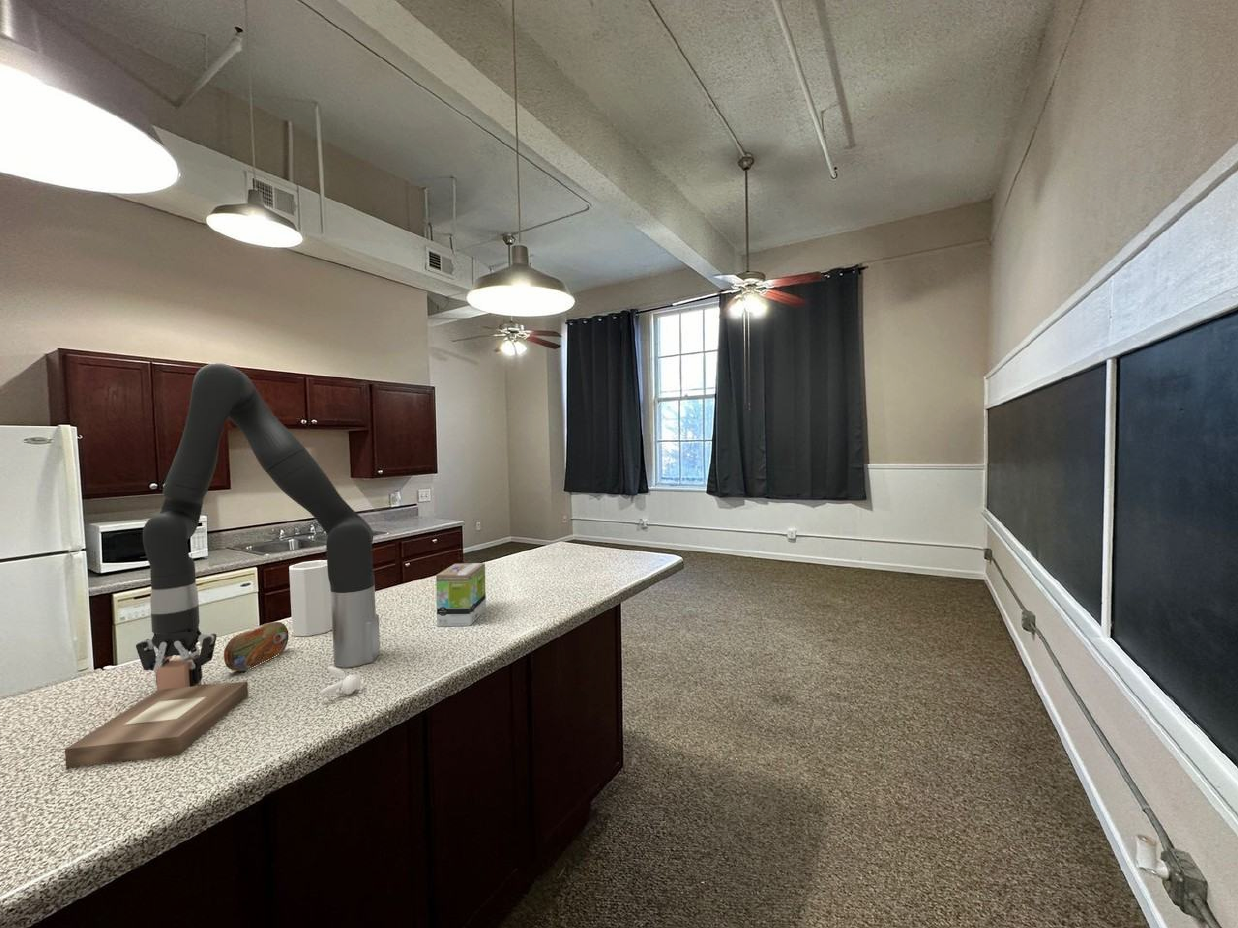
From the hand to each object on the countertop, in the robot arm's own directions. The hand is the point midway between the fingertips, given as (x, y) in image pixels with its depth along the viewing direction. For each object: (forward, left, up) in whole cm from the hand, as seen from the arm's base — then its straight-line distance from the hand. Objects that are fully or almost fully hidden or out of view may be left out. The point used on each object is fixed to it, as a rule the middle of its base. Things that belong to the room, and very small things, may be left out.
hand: (179, 686), depth 105 cm
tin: (-9, -12, -1) cm, 15 cm away
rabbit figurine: (-35, +10, -1) cm, 36 cm away
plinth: (-8, +16, -1) cm, 18 cm away
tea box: (-53, -33, -1) cm, 63 cm away
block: (0, 0, -1) cm, 1 cm away
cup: (-13, -33, -1) cm, 36 cm away
